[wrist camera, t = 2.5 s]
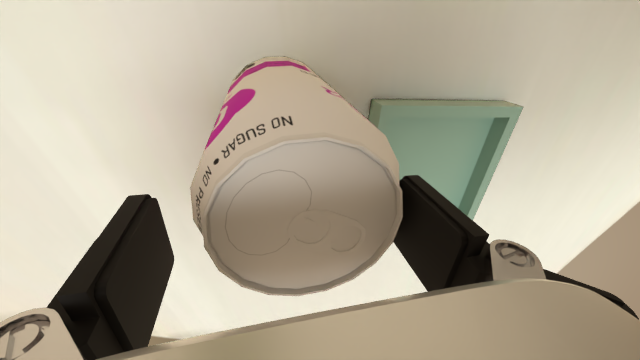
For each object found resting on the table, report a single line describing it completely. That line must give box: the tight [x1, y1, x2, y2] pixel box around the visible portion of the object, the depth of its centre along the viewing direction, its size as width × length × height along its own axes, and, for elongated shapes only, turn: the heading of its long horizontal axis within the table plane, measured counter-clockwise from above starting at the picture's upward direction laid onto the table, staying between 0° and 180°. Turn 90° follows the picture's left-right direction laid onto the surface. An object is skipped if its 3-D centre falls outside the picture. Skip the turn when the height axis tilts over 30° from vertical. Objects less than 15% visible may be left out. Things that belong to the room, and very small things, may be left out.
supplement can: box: [190, 56, 403, 296], centre depth 15 cm, size 8×8×15 cm
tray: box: [368, 99, 523, 221], centre depth 27 cm, size 14×14×2 cm
